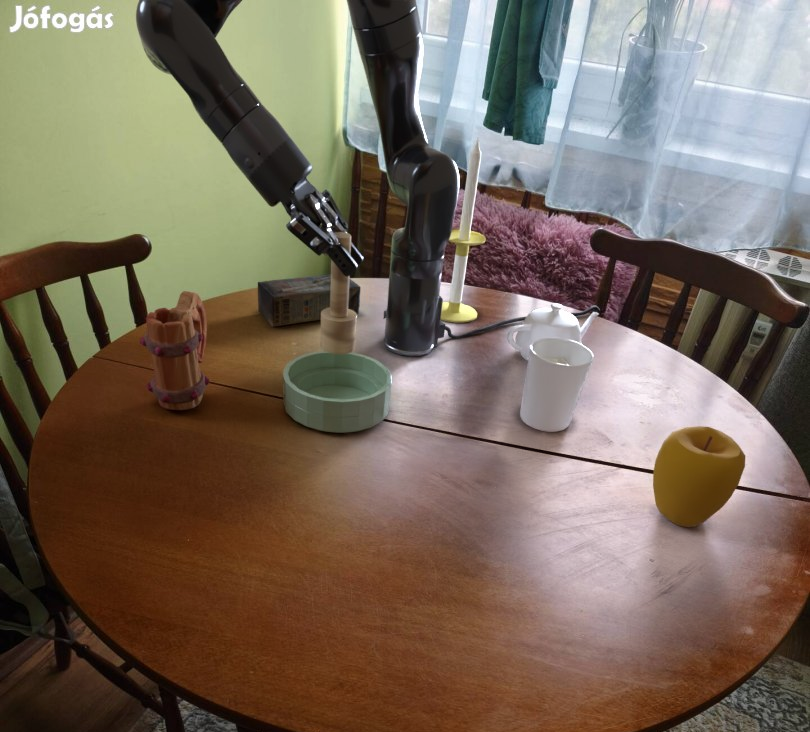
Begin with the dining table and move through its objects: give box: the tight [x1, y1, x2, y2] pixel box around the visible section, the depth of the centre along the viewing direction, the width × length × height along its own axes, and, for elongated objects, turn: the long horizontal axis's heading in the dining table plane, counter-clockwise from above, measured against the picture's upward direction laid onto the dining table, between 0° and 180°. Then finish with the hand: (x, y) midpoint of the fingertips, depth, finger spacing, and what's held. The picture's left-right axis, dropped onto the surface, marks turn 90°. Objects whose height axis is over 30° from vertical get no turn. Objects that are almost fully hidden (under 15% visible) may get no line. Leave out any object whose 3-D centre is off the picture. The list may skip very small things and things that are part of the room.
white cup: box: [519, 337, 594, 433], centre depth 110 cm, size 10×10×12 cm
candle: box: [440, 138, 487, 324], centre depth 134 cm, size 10×10×32 cm
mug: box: [139, 290, 210, 411], centre depth 105 cm, size 15×8×15 cm, turn 168°
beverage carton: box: [257, 274, 362, 327], centre depth 135 cm, size 8×19×7 cm, turn 121°
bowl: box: [282, 350, 393, 434], centre depth 109 cm, size 17×17×6 cm
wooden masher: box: [319, 232, 358, 354], centre depth 98 cm, size 5×5×16 cm
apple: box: [652, 425, 746, 528], centre depth 93 cm, size 11×11×13 cm
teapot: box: [506, 302, 600, 362], centre depth 129 cm, size 20×12×10 cm, turn 115°
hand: (355, 267), depth 95 cm, fingers closed on wooden masher, 2 cm apart
